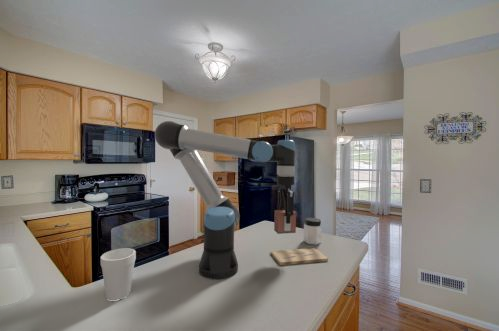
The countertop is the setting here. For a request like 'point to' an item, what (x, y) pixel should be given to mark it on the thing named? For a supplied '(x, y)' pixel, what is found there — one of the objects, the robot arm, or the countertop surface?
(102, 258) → the foam cup
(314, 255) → the board
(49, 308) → the countertop surface
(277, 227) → the block
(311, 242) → the jar
